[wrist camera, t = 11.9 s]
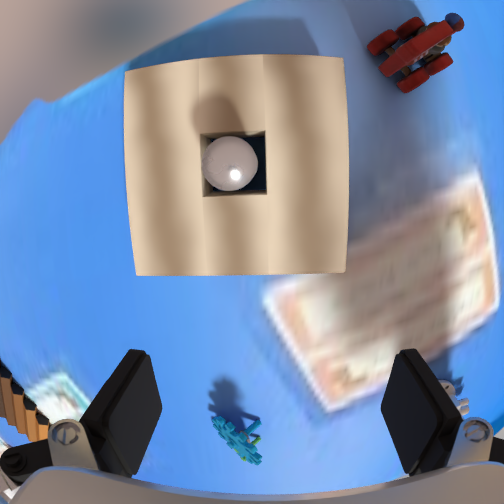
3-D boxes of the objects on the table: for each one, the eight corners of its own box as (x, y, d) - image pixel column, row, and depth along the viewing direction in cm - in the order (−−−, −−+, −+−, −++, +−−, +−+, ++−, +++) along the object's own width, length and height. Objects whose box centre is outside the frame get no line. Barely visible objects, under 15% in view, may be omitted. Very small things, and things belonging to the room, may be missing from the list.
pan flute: (-8, 346, 41) (0, 405, 48) (-17, 354, 38) (-6, 412, 44) (83, 416, 44) (74, 459, 50) (76, 427, 41) (69, 468, 47)
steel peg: (257, 145, 30) (256, 135, 20) (258, 182, 31) (257, 190, 21) (219, 146, 30) (200, 138, 20) (220, 183, 31) (202, 192, 21)
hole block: (329, 75, 27) (343, 58, 21) (331, 254, 33) (345, 272, 27) (147, 85, 28) (125, 71, 22) (156, 257, 33) (136, 275, 28)
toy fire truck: (449, 62, 25) (497, 42, 15) (390, 103, 28) (438, 83, 18) (416, 19, 24) (456, -13, 14) (352, 55, 26) (385, 17, 16)
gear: (201, 409, 38) (249, 449, 31) (231, 387, 42) (281, 421, 35) (218, 444, 43) (260, 478, 36) (243, 424, 46) (286, 454, 39)
